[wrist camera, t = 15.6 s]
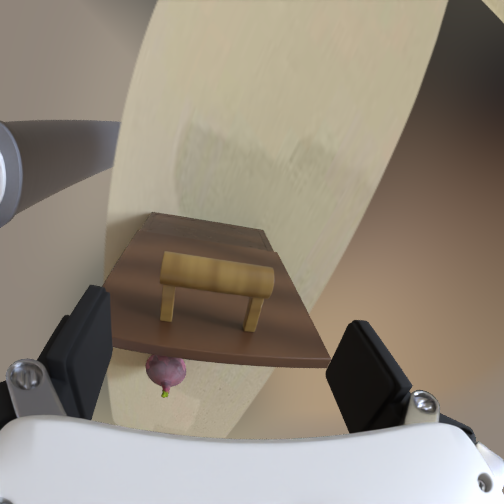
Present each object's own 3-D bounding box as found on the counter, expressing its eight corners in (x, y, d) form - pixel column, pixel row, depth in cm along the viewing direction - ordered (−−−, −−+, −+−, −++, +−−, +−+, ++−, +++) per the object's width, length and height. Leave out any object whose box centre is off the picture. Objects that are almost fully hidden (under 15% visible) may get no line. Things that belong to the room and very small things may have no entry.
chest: (239, 326, 45) (245, 361, 38) (143, 313, 42) (134, 347, 35) (263, 230, 39) (275, 253, 32) (151, 211, 36) (138, 232, 29)
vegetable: (194, 357, 46) (193, 404, 37) (164, 370, 47) (159, 415, 38) (172, 333, 44) (167, 379, 35) (142, 346, 44) (132, 392, 35)
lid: (327, 368, 17) (358, 300, 15) (79, 340, 14) (71, 259, 12) (275, 258, 32) (287, 214, 30) (137, 237, 29) (142, 189, 27)
